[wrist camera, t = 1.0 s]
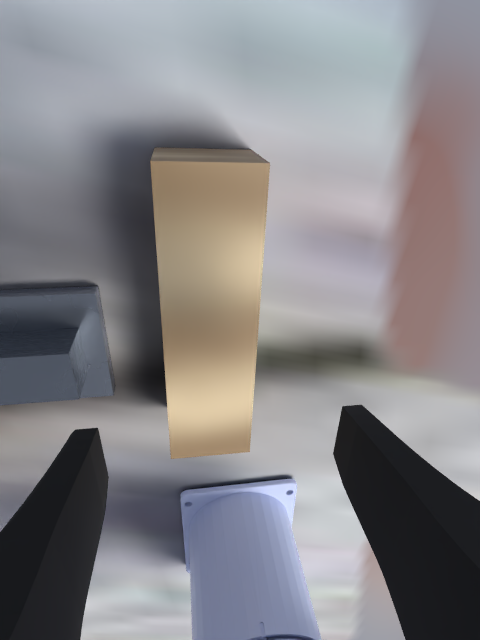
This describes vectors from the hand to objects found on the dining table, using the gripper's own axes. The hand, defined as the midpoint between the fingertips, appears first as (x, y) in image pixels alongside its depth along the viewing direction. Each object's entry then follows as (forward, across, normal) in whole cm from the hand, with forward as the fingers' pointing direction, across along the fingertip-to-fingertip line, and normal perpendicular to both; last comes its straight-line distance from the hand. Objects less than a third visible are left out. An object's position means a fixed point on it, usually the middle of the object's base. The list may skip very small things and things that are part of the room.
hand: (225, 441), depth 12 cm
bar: (+10, 0, 0) cm, 10 cm away
